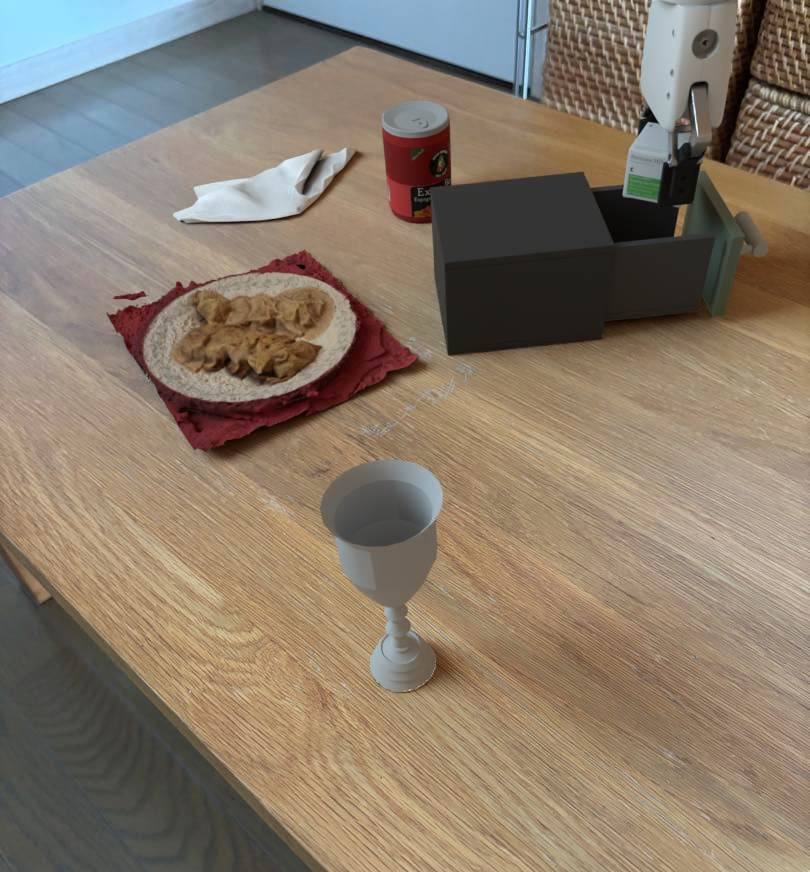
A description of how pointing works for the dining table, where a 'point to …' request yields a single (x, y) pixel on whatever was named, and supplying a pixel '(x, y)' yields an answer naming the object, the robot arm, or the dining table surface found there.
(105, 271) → the dining table surface
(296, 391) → the plate with food
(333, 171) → the cloth
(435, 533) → the chalice
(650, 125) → the small box
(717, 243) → the drawer
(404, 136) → the canned food
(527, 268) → the cabinet
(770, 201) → the dining table surface
